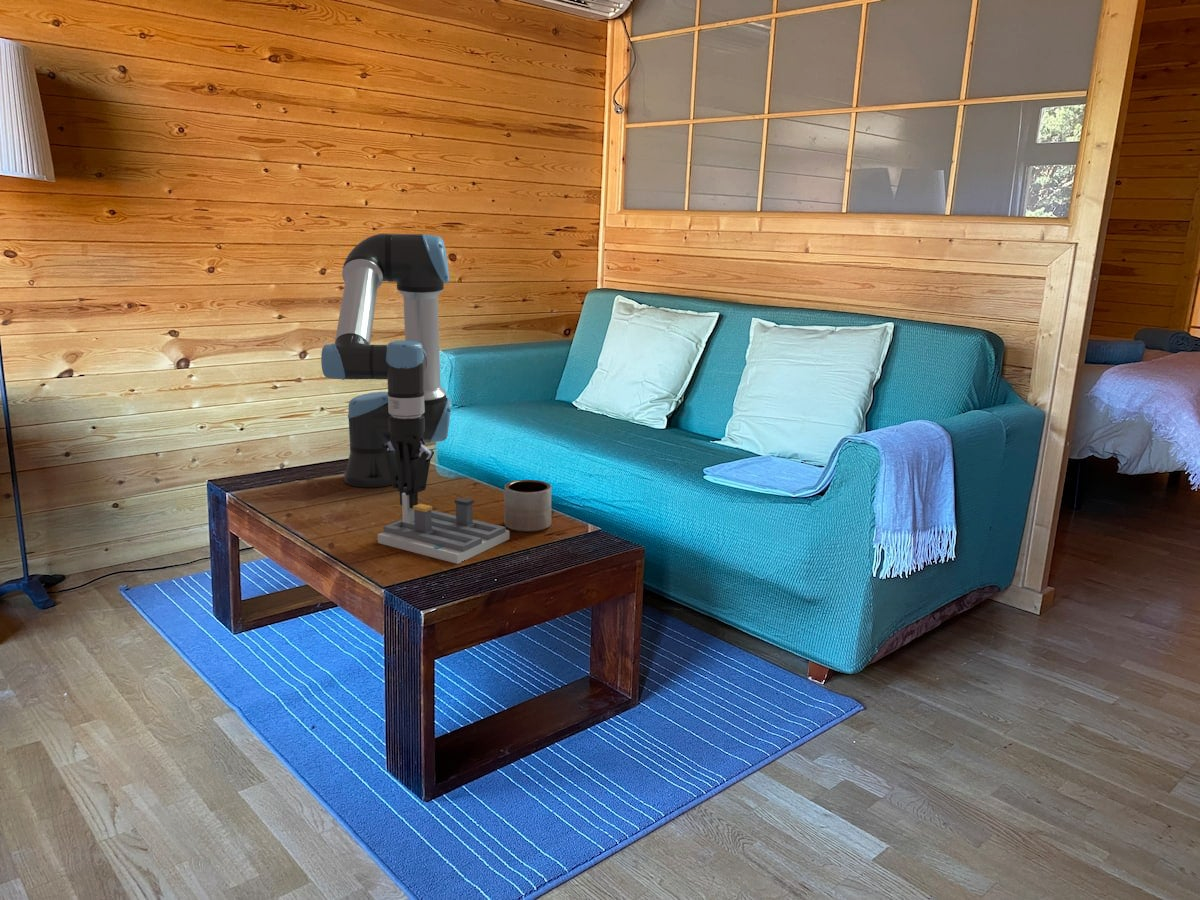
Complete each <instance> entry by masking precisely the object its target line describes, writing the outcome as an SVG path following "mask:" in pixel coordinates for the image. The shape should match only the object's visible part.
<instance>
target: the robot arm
mask: <svg viewBox="0 0 1200 900" xmlns="http://www.w3.org/2000/svg"><path fill="white" fill-rule="evenodd" d="M446 249H447V248H446V244H445V241H444V240H443V238H442V237H440V236H439V235H434V234H433V235H432V234H425V233H415V234H414V233H412V234H411V233H403V234H402V233H392V234H391V233H378V234H373V235H371V236H369V237H366V238H364V239H363V240H361V241H360V242H359V243H358V244H357V245H356V246H355V247H353V249H351V251H350V252H349V253H348V255H347V257H346V259H345V260H344V263H343V267H342V272H341V277H342V280H343V282H344V287H343V293H342V299H341V305H340V311H339V316H338V320H337V321H338V322H337V328H336V334H335V339H334V343H330V344H325V345H323V347H322V348H321V353H320V355H321V357H320V358H321V359H320V360H321V361H320V362H321V365H320V366H321V371H322V374H323V376H324V377H325V378H327V379H329V380H330V379H333V380H343V381H345V380H386V381H387V391H375V392H369V393H365V394H360V395H357V396H355V397H353V398H351V399H350V400H349V402H348V412H347V413H348V414H347V418H348V430H349V431H348V432H349V457H348V459H347V464H346V469H345V470H344V482H345V484H347V485H349V486H353V487H356V488H357V487H358V488H381V487H388V486H391V487H392V489H397V490H398V492H399V504H400V506H401V510H402V511H401V512H402V513H401V514H402V519H403V522H404V523H410V522H413V521H415V520H414V510H413V506H415V505H417V504H419V493H421V492H423V491H426V488H427V487H426V486H427V481H428V475H429V470H430V466H431V465H430V464H431V459H433V456H434V455H435V451H434V449H429V448H427V447H426V446H425V445H426V443H435V442H437V443H439V442H443V441H446V439H448V437H449V429H450V428H449V427H450V419H451V411H452V402H453V399H452V398H451V397H450V398H449V397H447V391H446V390H445V389H444V387H442V386H441V369H440V368H441V362H440V360H441V359H440V329H439V327H440V325H439V323H440V322H439V295H441V293H442V292H443V291H444V289H445V288H444V287H445V285H444V284H448V283H449V282H450V274H449V272H450V271H449V263H448V256H447V250H446ZM383 282H385V283H386V282H388V283H396V290H397V291H398V292H399V293H400V295H401V296H402V299H403V317H404V318H403V320H404V323H403V325H404V340H393V341H390V342H388V343H387V344H371V342H372V341H371V340H372V333H373V325H374V318H375V309H376V303H377V295H378V289H379V288H380V287H381V286H382V284H383Z"/></svg>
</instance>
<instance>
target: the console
mask: <svg viewBox="0 0 1200 900" xmlns="http://www.w3.org/2000/svg"><path fill="white" fill-rule="evenodd" d="M454 523H456V514H455V515H454V514H450V513H445V512H443V511H437V510H433V509H432V510H431V525H432V531H434V534H433V535H429V534H425V533H421V532H417V531H413V530H414V529H415V521H413V522H410V523H404V522H403V518H402V519H400V520H397V521H394V522H392V523H390V524H387V525H384V526H383V532H380V533H378V534H377V544H381V545H384V546H388V547H392V548H395V549H400V550H403V551H407V552H411V553H415V554H419V555H423V556H427V557H430V558H434V559H438V560H442V561H445V562H449V563H453V564H460V563H463V562H465V561H468V559H471V558H473V557H475V556H476V555H477V556H478V555H479V554H482V553H483V552H485V551H487V550H489V549H492V548H494V547H496V546H498V545H500V544H502V543H504V542H506V541H508V540H510V529H509V530H508V529H506V528H507V527H506V526H502V525H497V524H495V523H494V524H493V523H489V522H485V521H481V520H476V519H473V524H475V528H470V527H466V526H462V525H457V524H454ZM464 560H465V561H464ZM462 561H463V562H462Z"/></svg>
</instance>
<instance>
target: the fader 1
mask: <svg viewBox="0 0 1200 900" xmlns="http://www.w3.org/2000/svg"><path fill="white" fill-rule="evenodd" d="M413 510H414V520H415V529H414V530H413V531H417V532H421V533H425V534H429V535H433V534H434V531H432V525H431V510H433V506H432V505H428V504H424V503H418V504H417V505H415V506H413Z"/></svg>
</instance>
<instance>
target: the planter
mask: <svg viewBox="0 0 1200 900" xmlns="http://www.w3.org/2000/svg"><path fill="white" fill-rule="evenodd" d="M503 514H504V517H503V518H504V519H503V522H504V525H505V526H504V527H506V528H508V529H509V530H511V531H515V532H519V533H536V532H541V531H545V530H546V529H548V528H549V527H550V526H551V525H552V485H551V484H550V483H548V482H547V481H543V480H538V479H519V480H512V481H510V482H508V483H506V484H505V485H504V513H503Z"/></svg>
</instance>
